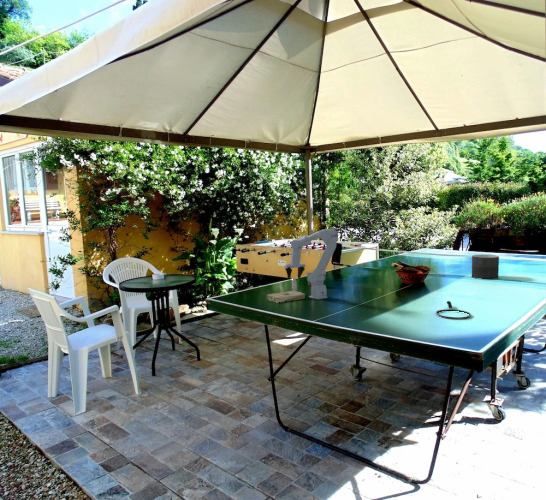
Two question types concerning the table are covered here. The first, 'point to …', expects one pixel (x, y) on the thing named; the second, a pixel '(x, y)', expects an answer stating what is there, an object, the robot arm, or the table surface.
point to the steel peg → (294, 284)
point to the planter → (485, 266)
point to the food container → (308, 279)
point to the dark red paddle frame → (451, 310)
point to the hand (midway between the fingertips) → (293, 278)
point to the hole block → (285, 296)
